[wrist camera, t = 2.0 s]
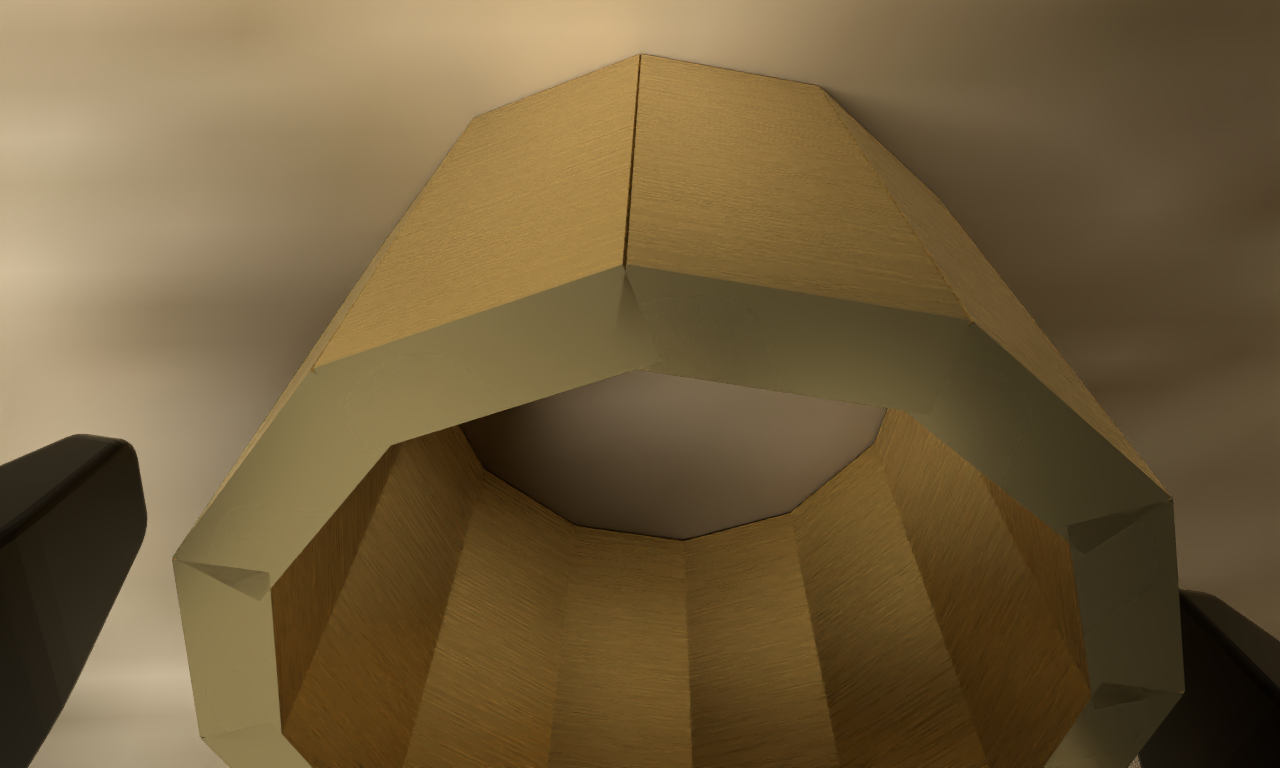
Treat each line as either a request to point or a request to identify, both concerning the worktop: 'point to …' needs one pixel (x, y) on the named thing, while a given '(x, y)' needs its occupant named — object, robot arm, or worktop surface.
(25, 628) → the robot arm
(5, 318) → the worktop surface
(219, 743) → the sleeve
